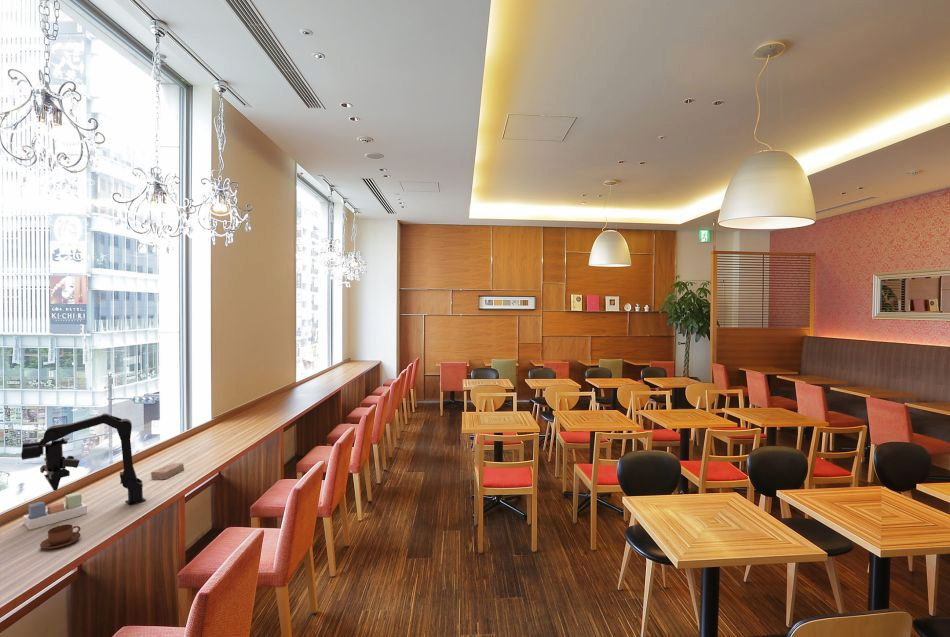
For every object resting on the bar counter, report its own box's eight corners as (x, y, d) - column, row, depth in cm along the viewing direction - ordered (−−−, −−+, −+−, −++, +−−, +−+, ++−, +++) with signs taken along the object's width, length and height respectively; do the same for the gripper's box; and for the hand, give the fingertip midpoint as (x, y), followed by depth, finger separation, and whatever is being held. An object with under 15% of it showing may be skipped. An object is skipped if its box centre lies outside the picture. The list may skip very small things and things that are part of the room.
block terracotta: (64, 517, 211) (63, 504, 211) (50, 521, 208) (50, 507, 208) (61, 514, 214) (60, 501, 214) (47, 518, 210) (47, 505, 210)
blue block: (45, 517, 206) (45, 503, 206) (31, 521, 203) (30, 507, 203) (42, 514, 209) (42, 501, 209) (28, 518, 205) (28, 504, 205)
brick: (170, 470, 275) (170, 462, 274) (184, 469, 274) (184, 461, 274) (150, 480, 258) (150, 472, 258) (165, 480, 258) (165, 471, 258)
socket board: (87, 513, 216) (86, 505, 216) (29, 529, 200) (29, 521, 200) (80, 508, 222) (80, 500, 222) (23, 523, 206) (23, 515, 206)
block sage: (81, 507, 216) (81, 494, 216) (68, 511, 213) (68, 497, 212) (78, 505, 219) (78, 492, 219) (65, 508, 215) (65, 495, 215)
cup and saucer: (67, 535, 195) (66, 520, 195) (88, 538, 191) (87, 523, 191) (32, 549, 183) (31, 533, 183) (54, 553, 180) (53, 537, 180)
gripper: (83, 453, 212) (85, 488, 212) (70, 447, 223) (72, 480, 223) (50, 460, 203) (52, 497, 203) (39, 453, 214) (40, 488, 214)
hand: (55, 490), depth 211 cm, fingers closed
